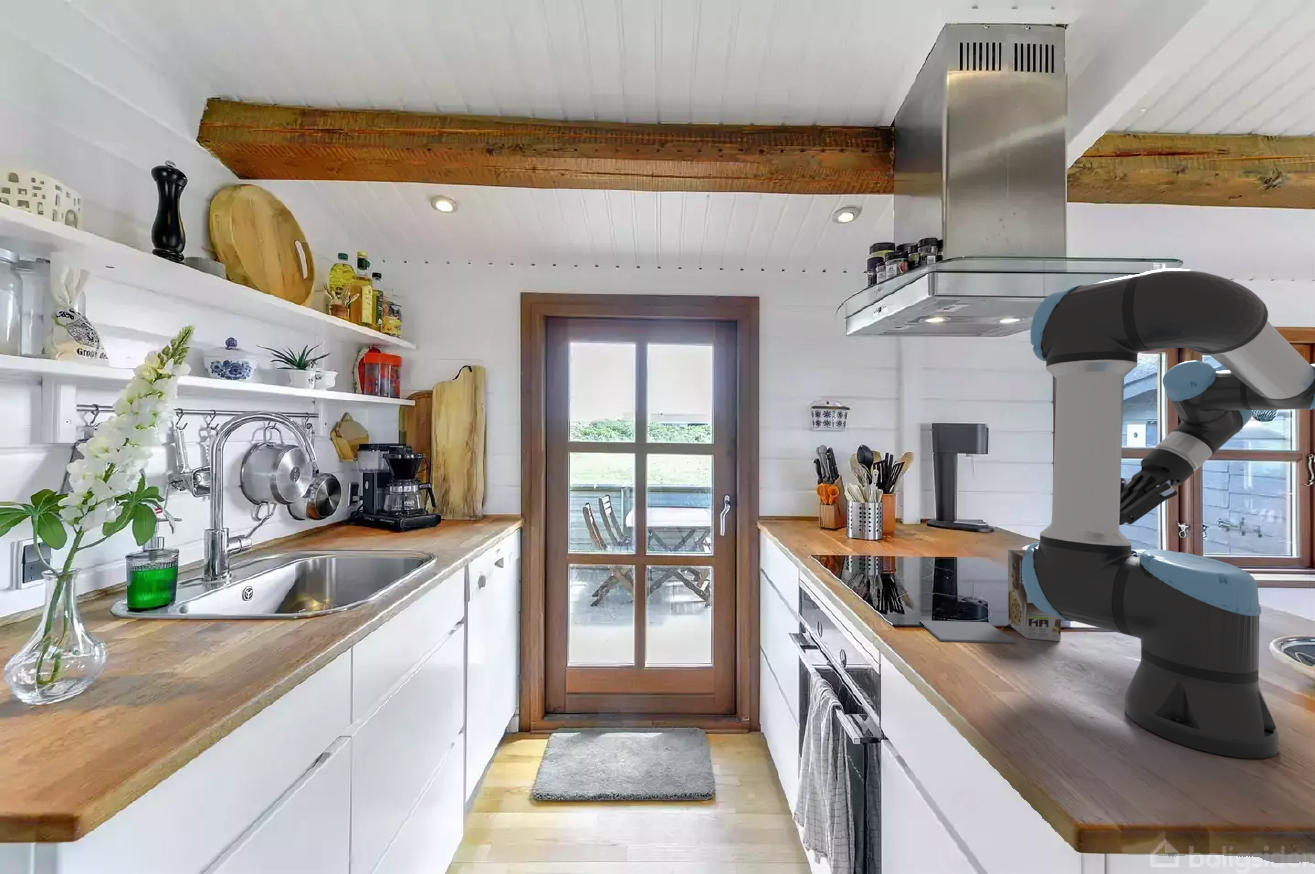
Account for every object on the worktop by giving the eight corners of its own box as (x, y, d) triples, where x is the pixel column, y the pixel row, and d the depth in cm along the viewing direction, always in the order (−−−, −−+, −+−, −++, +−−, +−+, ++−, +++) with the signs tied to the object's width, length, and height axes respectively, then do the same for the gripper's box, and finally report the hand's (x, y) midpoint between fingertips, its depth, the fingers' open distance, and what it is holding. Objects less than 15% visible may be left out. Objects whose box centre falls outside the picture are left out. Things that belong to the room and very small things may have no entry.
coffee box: (1062, 641, 109) (1062, 559, 109) (1025, 639, 110) (1026, 557, 110) (1040, 626, 118) (1040, 549, 118) (1006, 624, 119) (1007, 548, 119)
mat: (987, 624, 119) (987, 622, 119) (1016, 643, 108) (1016, 641, 108) (919, 622, 120) (919, 620, 120) (940, 641, 109) (940, 639, 109)
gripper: (1218, 475, 105) (1124, 563, 107) (1161, 470, 118) (1078, 548, 120) (1187, 447, 105) (1094, 535, 107) (1134, 446, 118) (1052, 524, 120)
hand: (1086, 542), depth 113 cm, fingers closed
